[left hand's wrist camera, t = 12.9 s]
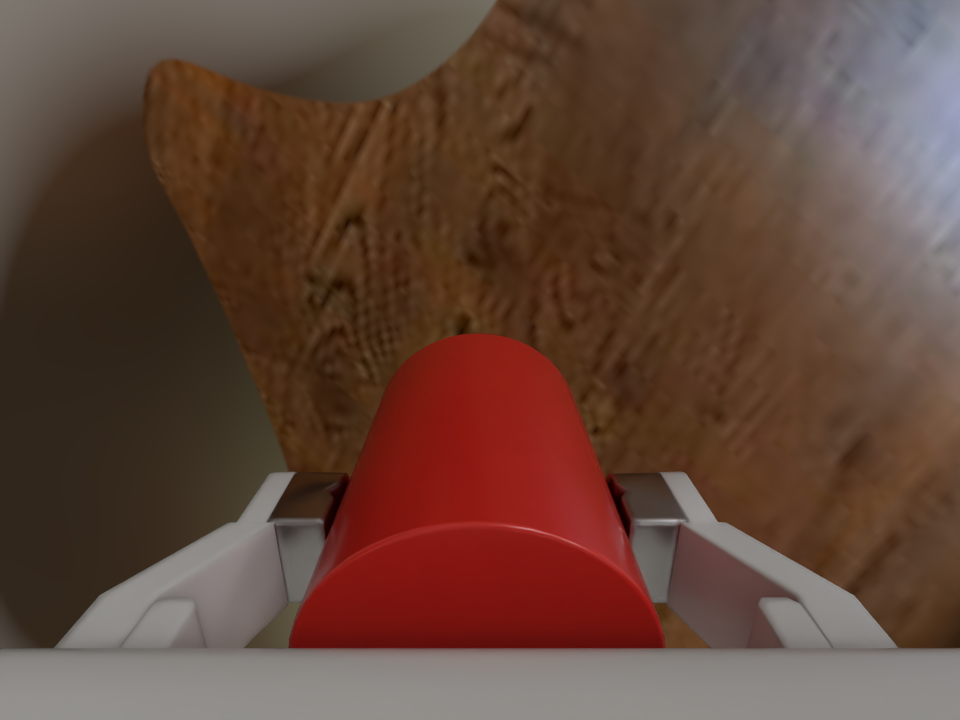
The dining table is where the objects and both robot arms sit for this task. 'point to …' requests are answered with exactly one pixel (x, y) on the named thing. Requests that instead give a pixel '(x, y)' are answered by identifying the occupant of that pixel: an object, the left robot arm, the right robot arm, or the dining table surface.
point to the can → (477, 518)
